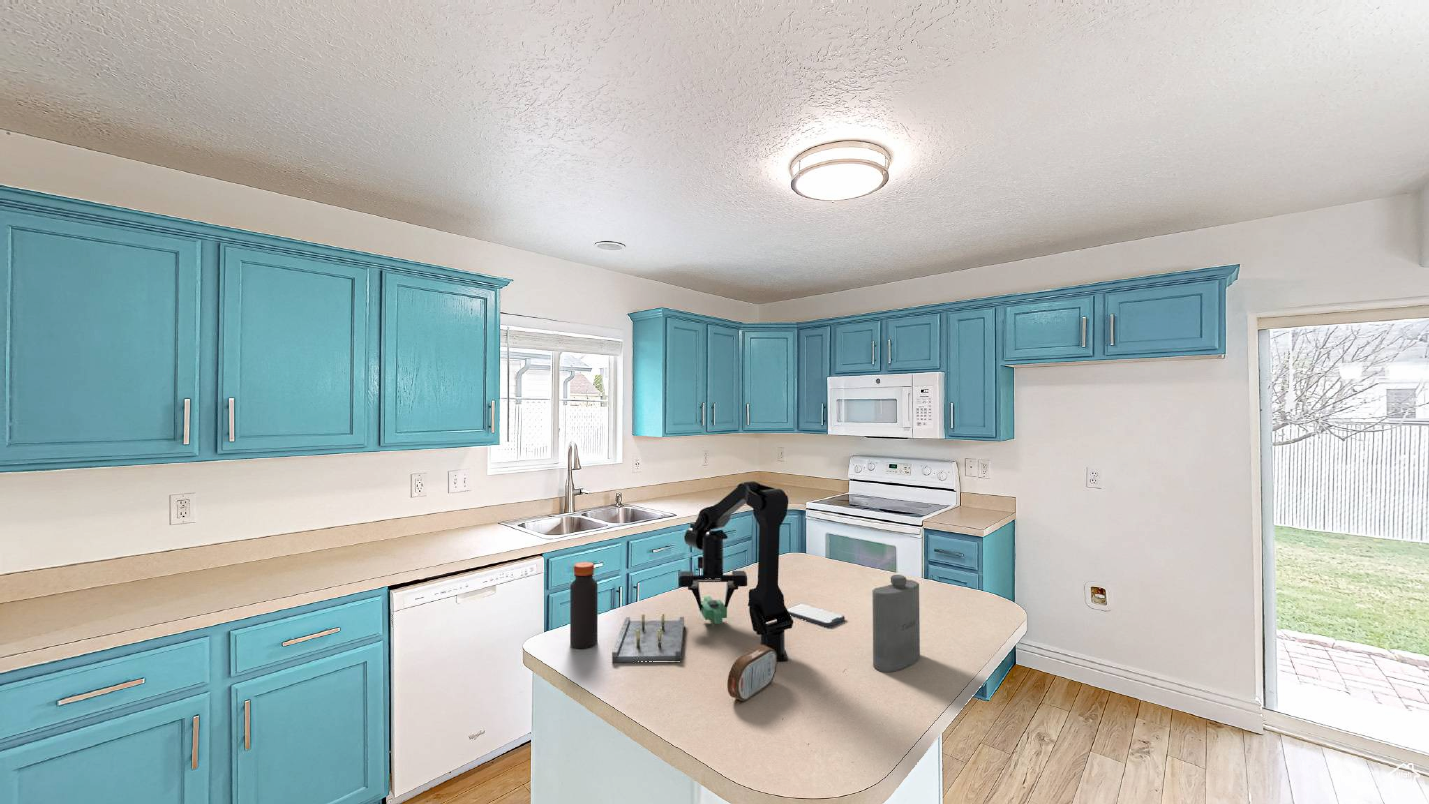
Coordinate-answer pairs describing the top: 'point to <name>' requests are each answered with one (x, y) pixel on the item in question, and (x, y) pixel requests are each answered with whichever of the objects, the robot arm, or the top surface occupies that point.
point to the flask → (896, 625)
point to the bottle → (583, 607)
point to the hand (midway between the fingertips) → (713, 610)
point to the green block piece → (713, 609)
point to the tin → (752, 672)
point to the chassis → (649, 641)
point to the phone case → (816, 615)
